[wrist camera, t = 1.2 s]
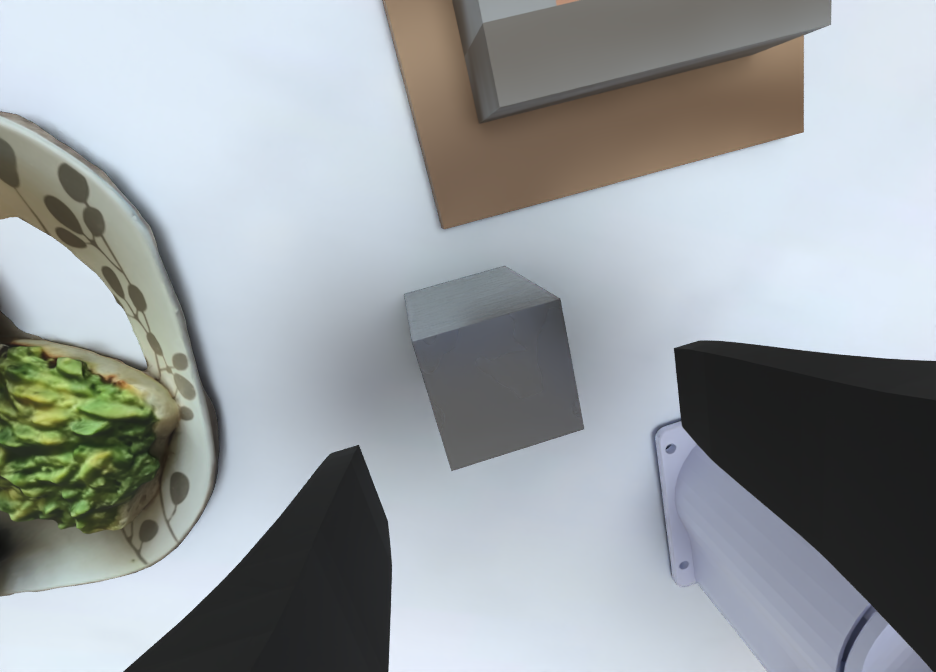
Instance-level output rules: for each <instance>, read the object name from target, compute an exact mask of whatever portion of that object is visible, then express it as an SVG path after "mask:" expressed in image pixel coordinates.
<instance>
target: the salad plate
mask: <svg viewBox="0 0 936 672" xmlns="http://www.w3.org/2000/svg"><path fill="white" fill-rule="evenodd" d="M9 217H19V218H20V219H22V220H24V221H25V222H27V223H29V224H31V225H32V226H34V227H36V228H38V229H39V230H41V231H43V232H45V233H46V234H48V235H50V236H51V237H53V238H54V239H56V240H57V241H59V242H60V243H61V244H63V245H64V246H65V247H67V248H68V249H69V250H70V251H71V252H72V253H73V254H74V255H75V256H76V257H77V258H78V259H80V260H81V261H82V262H83V263H84V264H85V265H87V266H88V267H89V268H90V269H91V270H93V271H94V272H95V273H96V274H97V275H98V276H99V277H100V278H101V280H102V281H103V282H104V283H105V285H106V286H107V287H108V288H109V290H110V291H111V292H112V294H113V295H114V297H115V299H116V301H117V303H118V304H119V305H120V306H121V307H122V308H123V309H124V311H125V312H126V315H127V317H128V319H129V321H130V323H131V325H132V328H133V332H134V333H135V335H136V337H137V339H138V341H139V344H140V346H141V349H142V352H143V354H144V357H145V359H146V362H147V369H146V370H144V371H140V370H138V369H135V368H133V367H130V366H128V365H126V364H125V363H124V362H123V361H121V360H119V359H115V358H111V357H105V356H102V355H99V354H97V353H94V352H92V351H89V350H85V349H82V348H78V347H73V346H68V345H63V344H58V343H53V342H50V341H47V340H45V339H42V338H41V337H39V336H36V335H32V334H29V333H25V332H23V331H21V330H20V329H18V328H17V327H16V326H15V325H14V323H13V322H12V321H11V320H10V319H9V318H7V317H6V316H5V315H4V314H3V313H2V312H1V311H0V596H7V595H12V594H14V593H21V592H38V591H45V590H50V589H54V588H60V587H68V586H76V585H82V584H89V583H95V582H100V581H104V580H109V579H113V578H117V577H122V576H125V575H129V574H132V573H136V572H138V571H141V570H143V569H145V568H148V567H151V566H152V565H154V564H156V563H157V562H159V561H160V560H162V559H163V558H165V557H166V556H167V555H168V554H170V553H171V552H172V551H173V550H174V549H176V548H177V547H178V546H179V545H180V544H181V542H182V541H183V540H184V539H185V537H186V536H187V535H188V534H189V532H190V531H191V529H192V528H193V527H194V525H195V524H196V523H197V521H198V520H199V518H200V516H201V515H202V513H203V511H204V509H205V507H206V505H207V503H208V501H209V499H210V497H211V495H212V493H213V490H214V486H215V483H216V477H217V469H218V456H219V433H218V421H217V416H216V411H215V408H214V406H213V404H212V401H211V399H210V398H209V396H208V394H207V393H206V391H205V390H204V388H203V385H202V382H201V379H200V377H199V373H198V369H197V365H196V361H195V358H194V354H193V351H192V347H191V341H190V337H189V334H188V331H187V324H186V319H185V316H184V313H183V311H182V308H181V305H180V302H179V300H178V298H177V296H176V294H175V292H174V289H173V286H172V283H171V281H170V279H169V276H168V274H167V271H166V269H165V267H164V264H163V262H162V259H161V257H160V254H159V253H158V247H157V243H156V241H155V238H154V235H153V232H152V230H151V227H150V226H149V224H148V223H147V222H146V221H145V220H144V218H143V217H142V216H141V214H140V213H139V211H138V210H137V208H136V207H135V206H134V205H133V204H132V203H131V202H130V201H129V200H128V199H127V198H126V196H125V195H124V194H123V193H122V192H121V191H120V190H119V189H118V188H117V186H116V185H115V184H114V183H113V182H112V181H111V179H110V178H109V177H108V175H107V174H106V173H105V172H104V171H102V170H101V169H100V168H98V167H97V166H95V165H93V164H92V163H90V162H89V161H88V160H86V159H85V158H84V157H82V156H81V155H80V154H79V153H77V152H76V151H74V150H73V149H72V148H70V147H69V146H67V145H66V144H64V143H62V142H60V141H59V140H57V139H56V138H54V137H53V136H51V135H50V134H49V133H47V132H46V131H44V130H43V129H41V128H40V127H39V126H38V125H36V124H35V123H33V122H31V121H29V120H27V119H25V118H23V117H21V116H19V115H17V114H12V113H6V112H0V220H1V219H5V218H9Z"/></svg>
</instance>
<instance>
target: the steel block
mask: <svg viewBox="0 0 936 672" xmlns="http://www.w3.org/2000/svg"><path fill="white" fill-rule="evenodd" d="M404 296H405V302H406V308H407V314H408V320H409V326H410V333H411V339H412V343H413V347H414V350H415V353H416V356H417V360H418V363H419V366H420V370H421V373H422V376H423V379H424V383H425V386H426V389H427V392H428V396H429V399H430V402H431V405H432V409H433V412H434V415H435V419H436V422H437V425H438V428H439V432H440V435H441V438H442V441H443V445H444V448H445V451H446V454H447V458H448V461H449V464H450V468H451V471H453V470H456V469H460V468H463V467H466V466H469V465H472V464H475V463H479V462H482V461H485V460H488V459H491V458H494V457H498V456H501V455H504V454H507V453H510V452H513V451H516V450H520V449H523V448H526V447H529V446H532V445H535V444H539V443H542V442H545V441H548V440H551V439H554V438H558V437H561V436H564V435H567V434H570V433H573V432H577V431H580V430H583V429H584V425H583V420H582V414H581V409H580V403H579V398H578V393H577V387H576V382H575V376H574V371H573V365H572V360H571V355H570V349H569V344H568V338H567V333H566V328H565V322H564V317H563V311H562V306H561V300H560V298H558V297H556V296H555V295H553V294H551V293H550V292H548V291H546V290H544V289H543V288H541V287H539V286H538V285H536V284H534V283H533V282H531V281H529V280H528V279H526V278H524V277H523V276H521V275H519V274H518V273H516V272H514V271H513V270H511V269H509V268H508V267H506V266H502V267H499V268H495V269H492V270H488V271H485V272H481V273H477V274H474V275H470V276H467V277H463V278H460V279H456V280H452V281H449V282H445V283H442V284H438V285H435V286H431V287H427V288H424V289H420V290H417V291H413V292H410V293H406V294H404Z"/></svg>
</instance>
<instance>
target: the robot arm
mask: <svg viewBox="0 0 936 672" xmlns="http://www.w3.org/2000/svg"><path fill="white" fill-rule="evenodd" d="M674 354H675V363H676V373H677V383H678V393H679V403H680V413H681V421H680V422H676V423H673V424H670V425H667V426H664V427H662V428H660V429H659V430H658V431H657V433H656V436H655V441H656V449H657V457H658V465H659V473H660V481H661V489H662V497H663V505H664V512H665V520H666V528H667V536H668V544H669V552H670V560H671V568H672V576H673V580H674V581H675V583H676V584H677V585H678V586H679V587H687V586H689V585H692V584H695V583H698V585H699V586H700V587H701V588H702V590H703V591H704V592H705V594H706V595H707V596H708V597H709V599H710V600H711V601H712V602H713V604H714V605H715V606H716V607H717V609H718V610H719V611H720V612H721V614H722V615H723V616H724V617H725V619H726V620H727V621H728V622H729V624H730V625H731V626H732V627H733V629H734V630H735V631H736V633H737V634H738V635H739V636H740V638H741V639H742V640H743V641H744V643H745V644H746V645H747V646H748V648H749V649H750V650H751V651H752V653H753V654H754V655H755V656H756V658H757V659H758V660H759V661H760V663H761V664H762V665H763V666H764V668H765V669H766V670H767V671H768V672H936V361H921V360H900V359H885V358H873V357H861V356H850V355H839V354H829V353H820V352H811V351H803V350H794V349H786V348H778V347H770V346H762V345H753V344H745V343H736V342H725V341H696V342H693V343H690V344H686V345H683V346H680V347H677V348H674ZM669 444H671V446H670V447H669V448H668V449H666V447H667V446H668V445H669ZM391 584H392V560H391V548H390V538H389V528H388V521H387V518H386V515H385V513H384V510H383V507H382V505H381V502H380V499H379V497H378V494H377V491H376V489H375V486H374V484H373V481H372V478H371V476H370V473H369V470H368V468H367V465H366V462H365V460H364V457H363V455H362V452H361V449H360V447H359V445H357V446H354V447H350V448H347V449H344V450H341V451H337V452H334V453H331V454H330V455H329V456H328V457H327V458H326V459H325V460H324V461H323V463H322V464H321V465H320V466H319V467H318V469H317V470H316V471H315V473H314V474H313V475H312V476H311V478H310V479H309V480H308V482H307V483H306V484H305V485H304V487H303V488H302V489H301V490H300V492H299V493H298V494H297V496H296V497H295V498H294V499H293V501H292V502H291V503H290V504H289V506H288V507H287V508H286V509H285V511H284V512H283V513H282V514H281V516H280V517H279V518H278V519H277V520H276V522H275V523H274V524H273V525H272V526H271V527H270V528H269V530H268V531H267V532H266V533H265V534H264V535H263V537H262V538H261V539H260V540H259V541H258V542H257V543H256V545H255V546H254V547H253V548H252V549H251V550H250V552H249V553H248V554H247V555H246V556H245V557H244V558H243V560H242V561H241V562H240V563H239V564H238V565H237V566H236V567H235V568H234V569H233V570H232V571H231V572H230V573H229V574H228V575H227V577H226V578H225V579H224V580H223V581H222V582H221V583H220V584H219V585H218V586H217V587H216V588H215V589H214V590H213V591H212V592H211V593H210V594H209V595H208V596H207V597H206V598H204V599H203V600H202V601H201V602H200V603H199V604H198V605H197V606H196V607H195V608H194V609H193V610H192V611H191V612H190V613H189V614H188V615H187V616H186V617H185V618H184V619H183V620H182V621H180V622H179V623H178V624H177V625H176V626H175V627H174V628H172V629H171V630H170V631H169V632H168V633H167V634H166V635H165V636H163V637H162V638H161V639H160V640H159V641H158V642H157V643H155V644H154V645H153V646H152V647H151V648H150V649H149V650H147V651H146V652H145V653H144V654H143V655H142V656H141V657H139V658H138V659H137V660H136V661H135V662H134V663H133V664H131V665H130V666H129V667H128V668H127V669H126V670H125V671H123V672H388V667H389V641H390V614H391Z"/></svg>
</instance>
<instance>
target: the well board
mask: <svg viewBox="0 0 936 672" xmlns="http://www.w3.org/2000/svg"><path fill="white" fill-rule="evenodd" d="M383 4H384V8H385V12H386V16H387V20H388V23H389V27H390V31H391V35H392V39H393V43H394V46H395V50H396V54H397V58H398V62H399V66H400V70H401V73H402V77H403V81H404V85H405V89H406V93H407V96H408V100H409V104H410V108H411V112H412V116H413V120H414V123H415V127H416V131H417V135H418V139H419V143H420V147H421V150H422V154H423V158H424V162H425V166H426V170H427V173H428V177H429V181H430V185H431V189H432V193H433V197H434V200H435V204H436V208H437V212H438V216H439V220H440V223H441V227H442V228H443V229H447V228H451V227H455V226H458V225H462V224H466V223H469V222H473V221H477V220H481V219H484V218H488V217H492V216H495V215H499V214H503V213H506V212H510V211H514V210H518V209H521V208H525V207H529V206H532V205H536V204H540V203H543V202H547V201H551V200H555V199H558V198H562V197H566V196H569V195H573V194H577V193H580V192H584V191H588V190H592V189H595V188H599V187H603V186H606V185H610V184H614V183H617V182H621V181H625V180H629V179H632V178H636V177H640V176H643V175H647V174H651V173H654V172H658V171H662V170H666V169H669V168H673V167H677V166H680V165H684V164H688V163H691V162H695V161H699V160H703V159H706V158H710V157H714V156H717V155H721V154H725V153H728V152H732V151H736V150H740V149H743V148H747V147H751V146H754V145H758V144H762V143H765V142H769V141H773V140H777V139H780V138H784V137H788V136H791V135H795V134H799V133H802V132H804V35H805V34H808V33H811V32H813V31H816V30H818V29H821V28H823V27H826V26H829V25H831V0H383Z"/></svg>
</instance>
